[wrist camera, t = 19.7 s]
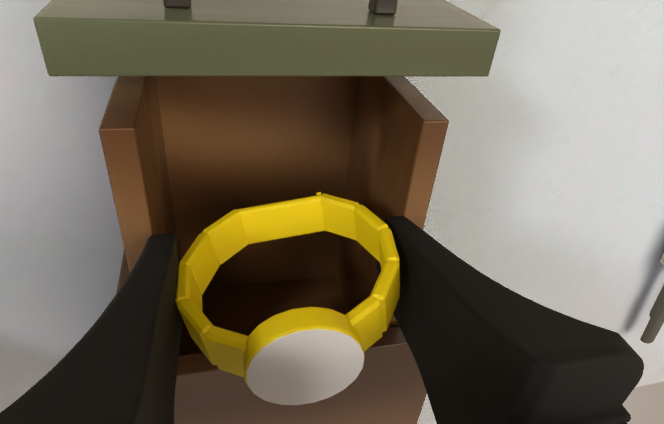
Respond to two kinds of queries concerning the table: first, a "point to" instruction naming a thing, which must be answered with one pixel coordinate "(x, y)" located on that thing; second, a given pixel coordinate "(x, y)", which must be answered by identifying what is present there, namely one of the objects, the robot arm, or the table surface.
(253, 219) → the watch
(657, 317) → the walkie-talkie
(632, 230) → the table surface
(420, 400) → the cabinet
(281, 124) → the drawer
